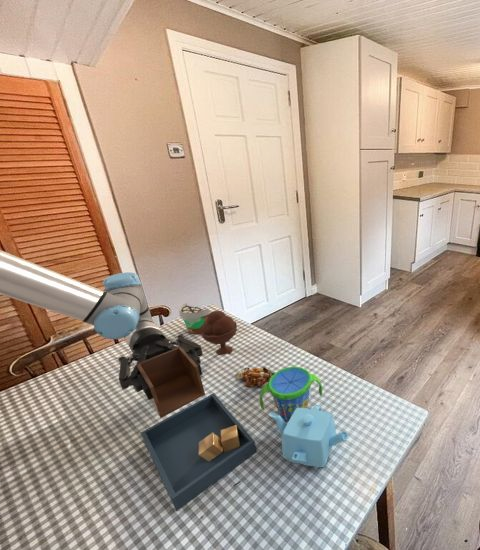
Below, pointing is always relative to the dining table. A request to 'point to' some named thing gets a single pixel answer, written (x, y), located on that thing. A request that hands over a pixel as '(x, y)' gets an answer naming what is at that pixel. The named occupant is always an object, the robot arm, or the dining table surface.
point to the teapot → (308, 436)
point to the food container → (194, 318)
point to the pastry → (255, 376)
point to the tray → (194, 449)
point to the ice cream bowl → (219, 331)
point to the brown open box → (172, 380)
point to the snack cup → (290, 390)
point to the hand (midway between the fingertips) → (175, 381)
